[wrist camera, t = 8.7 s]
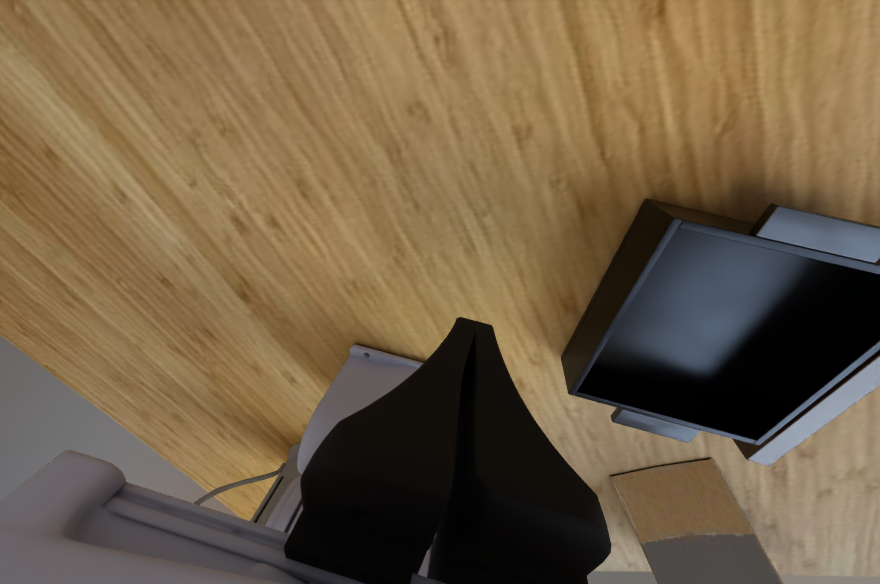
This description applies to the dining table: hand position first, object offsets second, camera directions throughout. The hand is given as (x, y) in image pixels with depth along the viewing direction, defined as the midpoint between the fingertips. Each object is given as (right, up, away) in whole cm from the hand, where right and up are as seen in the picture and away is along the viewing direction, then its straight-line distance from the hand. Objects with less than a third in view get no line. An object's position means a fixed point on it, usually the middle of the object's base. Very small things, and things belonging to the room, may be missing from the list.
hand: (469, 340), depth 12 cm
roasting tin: (+15, 0, +8) cm, 17 cm away
